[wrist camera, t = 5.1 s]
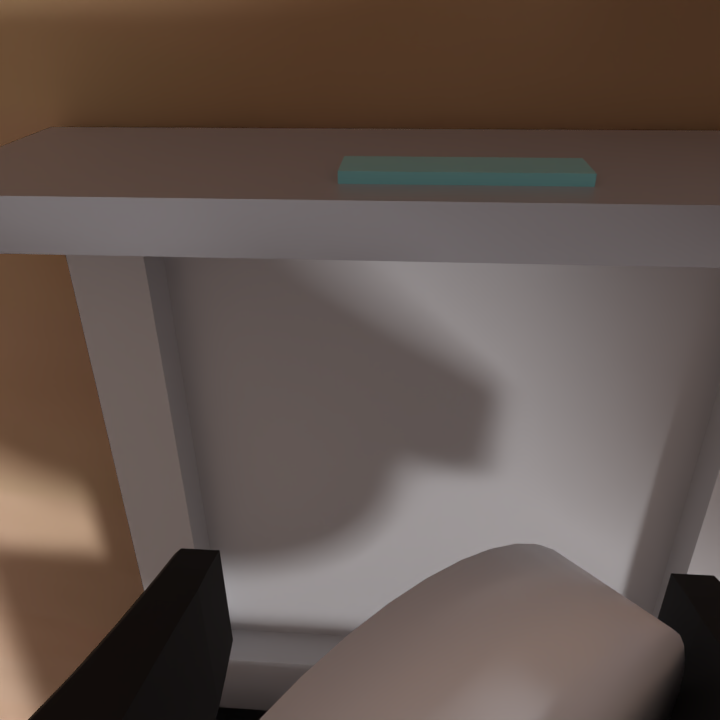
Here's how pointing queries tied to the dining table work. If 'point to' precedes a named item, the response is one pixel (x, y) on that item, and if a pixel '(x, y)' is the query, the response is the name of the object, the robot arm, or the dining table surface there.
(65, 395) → the dining table surface
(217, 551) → the robot arm
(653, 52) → the dining table surface
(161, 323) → the grey shallow open box
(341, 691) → the disc
